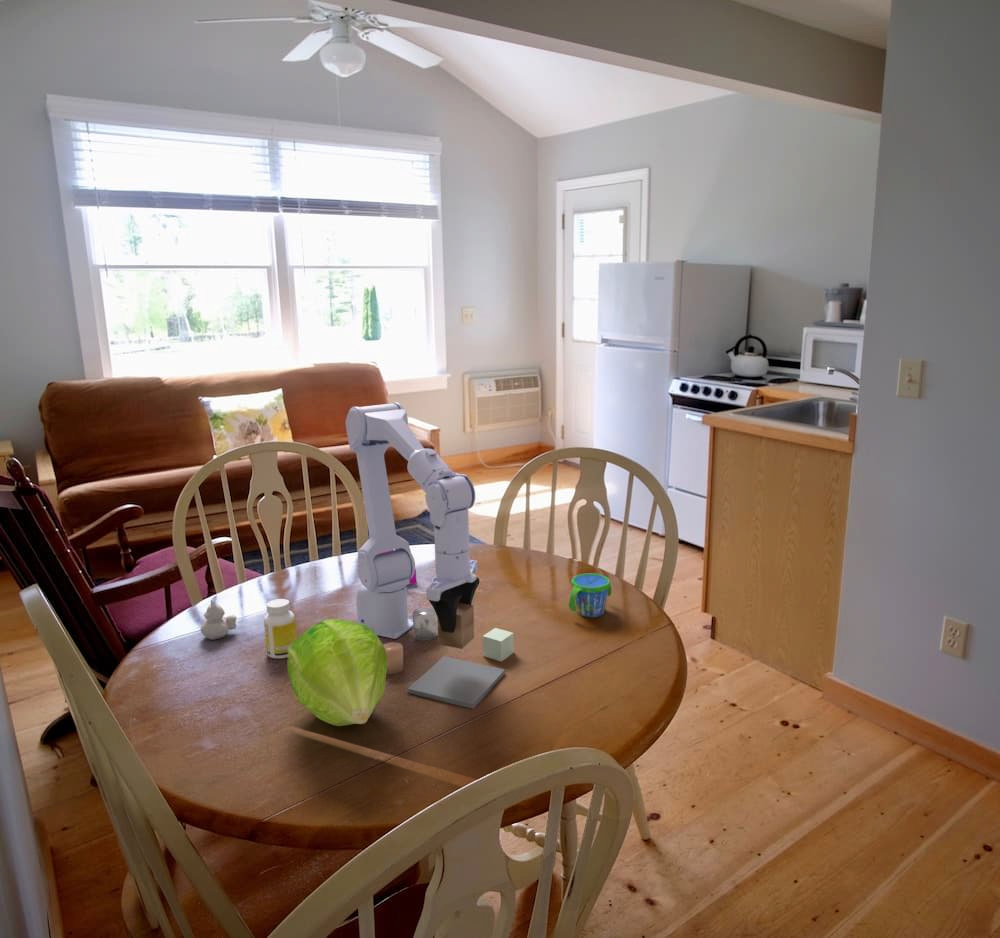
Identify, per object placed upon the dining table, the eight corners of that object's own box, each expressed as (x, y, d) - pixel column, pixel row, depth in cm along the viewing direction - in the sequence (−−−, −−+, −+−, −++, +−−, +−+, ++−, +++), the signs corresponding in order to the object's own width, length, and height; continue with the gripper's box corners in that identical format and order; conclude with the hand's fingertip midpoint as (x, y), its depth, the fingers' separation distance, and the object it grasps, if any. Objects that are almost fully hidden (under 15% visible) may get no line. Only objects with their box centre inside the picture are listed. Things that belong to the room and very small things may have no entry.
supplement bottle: (303, 648, 134) (299, 599, 131) (283, 662, 129) (279, 611, 127) (281, 643, 136) (276, 595, 134) (260, 656, 131) (255, 606, 129)
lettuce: (302, 781, 96) (292, 678, 93) (288, 698, 117) (280, 611, 113) (409, 756, 101) (404, 657, 98) (378, 681, 122) (373, 597, 118)
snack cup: (582, 628, 140) (582, 592, 139) (556, 615, 146) (556, 580, 145) (623, 613, 147) (624, 579, 145) (597, 601, 153) (598, 568, 151)
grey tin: (409, 639, 137) (408, 615, 136) (421, 630, 141) (420, 606, 140) (429, 643, 135) (428, 618, 134) (440, 633, 139) (439, 609, 138)
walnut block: (438, 644, 121) (437, 611, 120) (450, 633, 125) (450, 601, 124) (462, 649, 119) (461, 615, 118) (474, 637, 123) (473, 605, 122)
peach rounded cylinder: (376, 671, 125) (375, 650, 124) (389, 661, 129) (387, 640, 128) (395, 676, 123) (394, 654, 122) (408, 665, 127) (407, 644, 126)
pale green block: (483, 656, 130) (482, 636, 129) (495, 647, 133) (495, 627, 132) (501, 662, 128) (501, 641, 127) (513, 653, 131) (513, 632, 130)
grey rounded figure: (201, 635, 140) (196, 596, 138) (236, 628, 143) (232, 590, 141) (203, 646, 135) (198, 606, 134) (239, 638, 138) (235, 600, 136)
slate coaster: (408, 693, 118) (407, 688, 118) (443, 660, 128) (443, 656, 128) (473, 708, 113) (473, 704, 113) (505, 673, 123) (504, 669, 123)
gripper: (452, 566, 111) (456, 647, 113) (492, 538, 123) (494, 612, 126) (413, 560, 113) (417, 639, 116) (456, 534, 126) (458, 606, 129)
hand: (455, 625), depth 122 cm, fingers closed on walnut block, 4 cm apart
